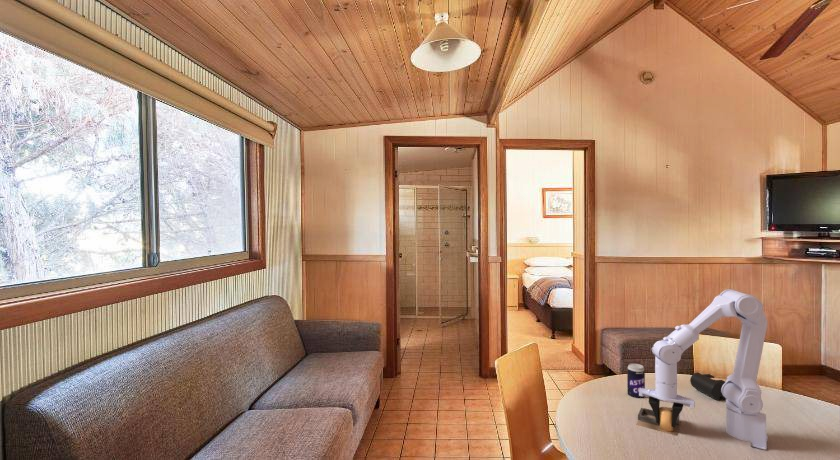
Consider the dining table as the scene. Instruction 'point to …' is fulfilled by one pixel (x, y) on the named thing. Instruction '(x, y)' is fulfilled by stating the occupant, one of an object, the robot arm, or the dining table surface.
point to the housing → (654, 421)
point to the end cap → (708, 385)
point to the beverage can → (635, 379)
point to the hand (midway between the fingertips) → (666, 424)
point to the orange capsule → (665, 419)
